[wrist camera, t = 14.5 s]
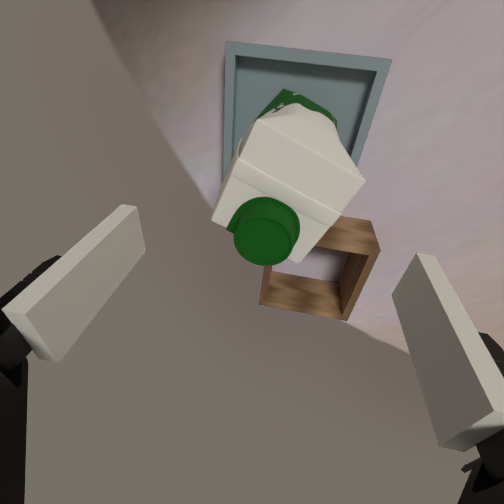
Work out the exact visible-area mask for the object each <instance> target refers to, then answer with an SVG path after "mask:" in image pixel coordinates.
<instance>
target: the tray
mask: <svg viewBox="0 0 504 504" xmlns="http://www.w3.org/2000/svg"><path fill="white" fill-rule="evenodd" d="M391 62H392V60H391V59H386V58H376V57H367V56H358V55H349V54H340V53H331V52H322V51H313V50H303V49H294V48H285V47H276V46H267V45H258V44H249V43H240V42H229V41H226V52H225V101H224V150H223V181H224V178H225V176H226V173H227V170H228V168H229V165H230V163H231V161H232V158H233V156H234V153H235V151H236V148H237V146H238V144H239V141H240V140H241V138H242V139H243V137H244V135H245V134H246V132H247V130H248V129H249V128H250V126H251V125H252V124H253V122H254V121H255V120H256V118H257V117H258V116H259V114H260V113H261V112H262V111H263V110H264V109H265V108H266V106H267V105H268V104H269V103H270V102H271V101H272V100H273V99H274V98H275V97H276V96H277V95H278V94H279V93H280V92H281V90H282V89H283V88H284V89H287V90H290V91H292V92H295V93H298V94H301V95H303V96H305V97H306V98H308V99H310V100H311V101H313V102H315V103H316V104H318V105H320V106H321V107H323V108H325V109H326V110H328V111H329V112H330V113H331V114H332V115H333V116H334V118H335V119H336V120H337V133H338V136H339V140H340V142H341V144H342V145H343V147H344V148H345V150H346V152H347V153H348V155H349V156H350V158H351V159H352V161H353V162H354V164H355V166H356V167H357V165H358V162H359V159H360V156H361V153H362V150H363V147H364V144H365V141H366V138H367V135H368V132H369V129H370V125H371V122H372V119H373V116H374V113H375V110H376V107H377V104H378V101H379V98H380V95H381V92H382V89H383V86H384V83H385V80H386V77H387V74H388V71H389V68H390V65H391ZM241 141H242V140H241ZM240 144H241V142H240ZM239 146H240V145H239Z"/></svg>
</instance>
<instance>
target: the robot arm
mask: <svg viewBox="0 0 504 504" xmlns="http://www.w3.org/2000/svg"><path fill="white" fill-rule="evenodd" d="M145 252H146V249H145V244H144V239H143V234H142V230H141V225H140V220H139V215H138V210H137V207H135V206H130V205H124V204H122V205H121V206H119V207H118V208H117V209H116V210H115V211H114V212H113V213H111V214H110V215H109V216H108V217H107V218H106V219H104V220H103V221H102V222H101V223H100V224H99V225H98V226H96V227H95V228H94V229H93V230H92V231H91V232H90V233H88V234H87V235H86V236H85V237H84V238H83V239H82V240H80V241H79V242H78V243H77V244H76V245H75V246H74V247H73V248H71V249H70V250H69V251H68V252H67V253H66V254H64V255H63V256H58V255H57V256H55V257H53V258H51V259H49V260H47V261H45V262H43V263H42V264H41V265H39V266H38V267H37V268H36V269H34V270H33V271H32V273H31V274H28V275H27V276H26V277H25V278H24V279H23V281H20V282H19V283H18V284H17V285H15V286H14V287H13V288H12V289H11V290H10V291H8V292H7V293H6V294H4V295H3V296H2V297H1V298H0V504H24V495H25V459H26V458H25V456H26V424H27V387H28V361H27V358H26V356H27V355H28V354H29V353H30V352H31V350H33V351H34V353H35V354H36V355H37V357H38V358H39V359H43V360H47V361H52V362H56V363H59V362H60V361H61V359H62V358H63V357H64V356H65V354H66V353H67V352H68V350H69V349H70V348H71V347H72V345H73V344H74V343H75V341H76V340H77V339H78V338H79V336H80V335H81V333H83V331H84V330H85V328H86V327H87V326H88V325H89V323H90V322H91V321H92V320H93V318H94V317H95V316H96V314H97V313H98V312H99V310H100V309H101V308H102V307H103V305H104V304H105V303H106V302H107V300H108V299H109V298H110V297H111V295H112V294H113V293H114V291H115V290H116V289H117V287H118V286H119V285H120V284H121V282H122V281H123V280H124V279H125V277H126V276H127V275H128V273H129V272H130V271H131V269H132V268H133V267H134V266H135V265H136V263H137V262H138V261H139V259H140V258H141V257H142V255H143V254H144V253H145ZM392 298H393V301H394V304H395V307H396V310H397V314H398V317H399V320H400V323H401V326H402V330H403V333H404V336H405V339H406V342H407V346H408V349H409V352H410V355H411V358H412V361H413V365H414V368H415V371H416V374H417V377H418V380H419V384H420V387H421V390H422V393H423V396H424V400H425V403H426V406H427V409H428V413H429V416H430V419H431V422H432V425H433V429H434V432H435V435H436V438H437V441H438V445H439V447H444V448H448V449H453V450H458V451H462V452H465V451H467V450H468V449H470V448H472V447H474V446H477V449H478V452H479V454H480V458H478V459H476V460H474V461H472V462H470V463H468V464H466V465H465V466H463V468H462V469H461V470H462V471H463V472H464V473H465V472H467V471H469V470H471V469H472V471H471V473H470V475H469V478H468V480H467V482H466V485H465V487H464V489H463V492H462V494H461V497H460V499H459V501H458V504H504V351H503V349H502V348H501V347H500V346H499V345H498V344H497V343H496V342H495V341H494V340H493V339H492V338H491V337H490V336H489V335H488V334H485V333H480V332H477V330H476V328H475V326H474V325H473V323H472V321H471V319H470V318H469V316H468V314H467V312H466V311H465V309H464V307H463V305H462V304H461V302H460V300H459V298H458V296H457V295H456V293H455V291H454V289H453V288H452V286H451V284H450V282H449V281H448V279H447V277H446V275H445V274H444V272H443V270H442V268H441V266H440V265H439V263H438V261H437V259H436V258H435V256H433V255H427V254H421V253H416V255H415V256H414V258H413V260H412V261H411V263H410V265H409V266H408V268H407V270H406V271H405V273H404V275H403V276H402V278H401V280H400V282H399V283H398V285H397V287H396V288H395V290H394V292H393V293H392Z"/></svg>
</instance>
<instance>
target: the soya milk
mask: <svg viewBox="0 0 504 504" xmlns="http://www.w3.org/2000/svg"><path fill="white" fill-rule="evenodd" d="M241 140H242V141H241ZM241 140H240V141H239V144H238V146H237V148H236V151H235V153H234V156H233V158H232V161H231V163H230V165H229V168H228V170H227V173H226V176H225V178H224V181H223V183H222V186H221V189H220V192H219V195H218V198H217V201H216V205H215V208H214V211H213V215H212V218H211V220H212V221H213V222H215V223H217V224H219V225H222V226H224V227H226V230H228V231H230V232H232V233H234V244H235V247H236V249H237V251H238V252H239V253H240V255H241V256H242V257H243V258H245V259H246V260H248V261H250V262H252V263H254V264H257V265H263V266H270V265H275V264H278V263H281V262H282V261H284V260H285V259H289V260H291V261H293V262H295V263H297V264H299V263H300V262H301V261H302V260H303V259H304V257H305V256H306V255H307V254H308V253H309V252H310V250H311V249H312V248H313V247H314V246H315V244H316V243H317V242H318V241H319V240H320V239H321V237H322V236H323V235H324V234H325V233H326V231H327V230H328V229H329V228H330V227H331V226H332V225H333V224H334V223H335V222H336V221H337V219H338V218H339V217H340V215H341V213H342V210H343V209H344V208H345V206H346V205H347V204H348V203H349V202H350V200H351V199H352V198H353V197H354V196H355V194H356V193H357V192H358V191H359V189H360V188H361V187H362V186H363V184H364V183H365V182H366V181H365V179H364V178H363V176H362V175H361V173H360V172H359V170H358V169H357V167H356V166H355V164H354V162H353V161H352V159H351V158H350V156H349V155H348V153H347V152H346V150H345V148H344V147H343V145H342V144H341V142H340V140H339V136H338V133H337V120H336V119H335V118H334V116H333V115H332V114H331V113H330V112H329V111H328V110H326V109H325V108H323V107H321V106H320V105H318V104H316V103H315V102H313V101H311V100H310V99H308V98H306V97H305V96H303V95H301V94H298V93H295V92H292V91H290V90H287V89H284V88H283V89H282V90H281V92H280V93H279V94H278V95H277V96H276V97H275V98H274V99H273V100H272V101H271V102H270V103H269V104H268V105H267V106H266V108H265V109H264V110H263V111H262V112H261V113H260V114H259V116H258V117H257V118H256V120H255V121H254V122H253V124H252V125H251V126H250V128H249V129H248V130H247V132H246V134H245V135H244V137H243V139H242V138H241ZM240 142H241V144H240ZM239 145H240V146H239Z"/></svg>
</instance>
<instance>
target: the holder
mask: <svg viewBox="0 0 504 504" xmlns="http://www.w3.org/2000/svg"><path fill="white" fill-rule="evenodd" d="M315 246H316V247H322V248H328V249H334V250H340V251H346V252H351V253H350V255H349V258H348V260H347V263H346V266H345V268H344V271H343V273H342V276H341V278H340V281H339V283H334V282H329V281H323V280H318V279H312V278H307V277H301V276H295V275H290V274H284V273H279V272H273V271H271V270H272V265H270V266H265V267H264V274H263V281H262V288H261V294H260V301H259V304H260V305H266V306H271V307H276V308H281V309H286V310H292V311H297V312H302V313H308V314H313V315H318V316H324V317H329V318H334V319H339V320H344V321H347V320H348V318H349V316H350V314H351V312H352V310H353V308H354V305H355V303H356V301H357V299H358V297H359V295H360V293H361V291H362V289H363V286H364V284H365V282H366V280H367V278H368V276H369V274H370V272H371V270H372V267H373V265H374V263H375V261H376V259H377V257H378V255H379V253H380V251H381V250H380V247H379V244H378V241H377V238H376V235H375V232H374V229H373V226H372V223H371V221H368V220H362V219H355V218H349V217H343V216H340V217H339V218H338V219H337V221H336V222H335V223H334V224H333V225H332V226H331V227H330V228H329V229H328V230H327V231H326V233H325V234H324V235H323V236H322V237H321V239H320V240H319V241H318V242H317V243H316V244H315Z"/></svg>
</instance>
